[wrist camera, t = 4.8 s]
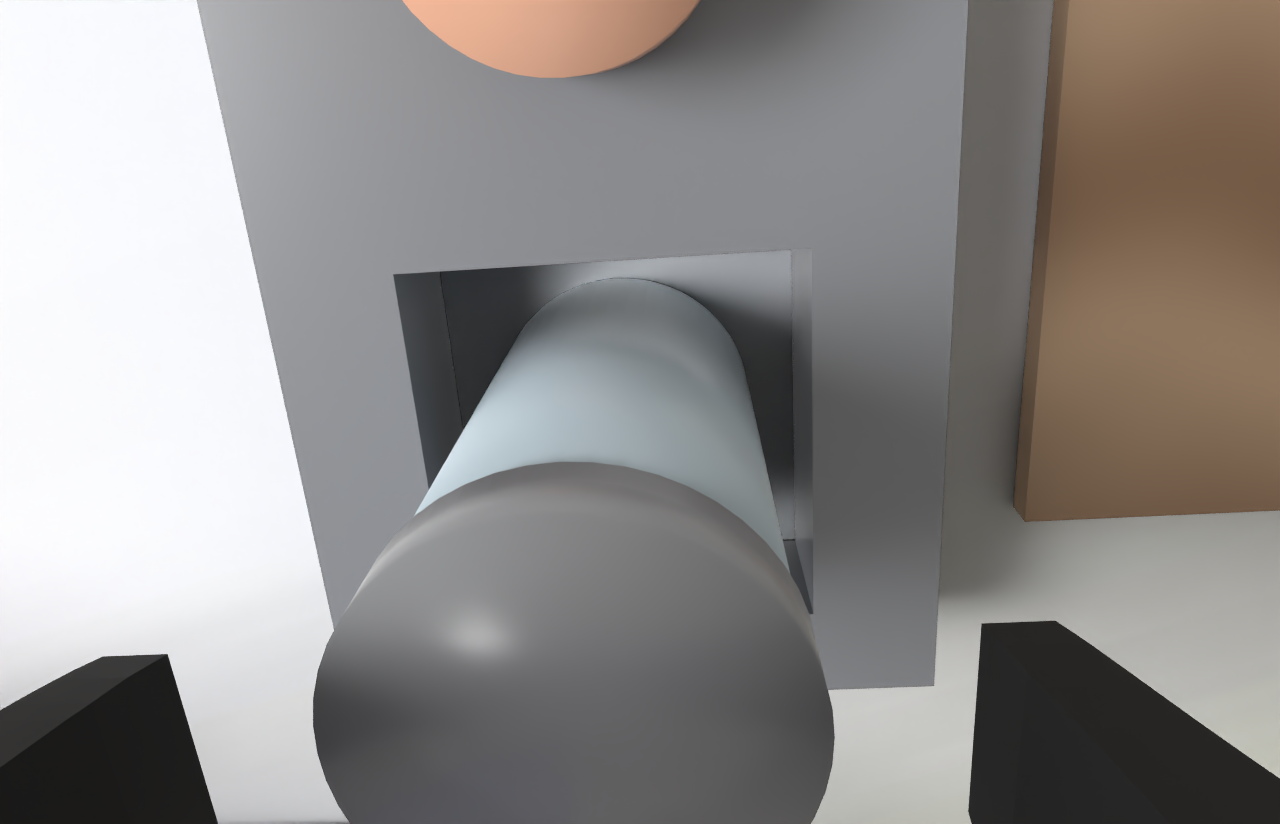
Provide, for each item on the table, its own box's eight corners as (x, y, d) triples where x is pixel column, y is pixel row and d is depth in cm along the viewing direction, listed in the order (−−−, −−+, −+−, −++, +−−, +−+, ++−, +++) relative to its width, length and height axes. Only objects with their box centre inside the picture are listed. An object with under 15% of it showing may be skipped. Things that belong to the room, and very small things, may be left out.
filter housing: (900, 604, 18) (933, 686, 15) (391, 624, 18) (351, 706, 16) (935, -437, 12) (996, -554, 10) (203, -359, 13) (97, -455, 10)
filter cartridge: (756, 508, 17) (833, 932, 9) (512, 519, 18) (361, 941, 9) (749, 264, 16) (836, 498, 7) (481, 280, 16) (263, 525, 7)
